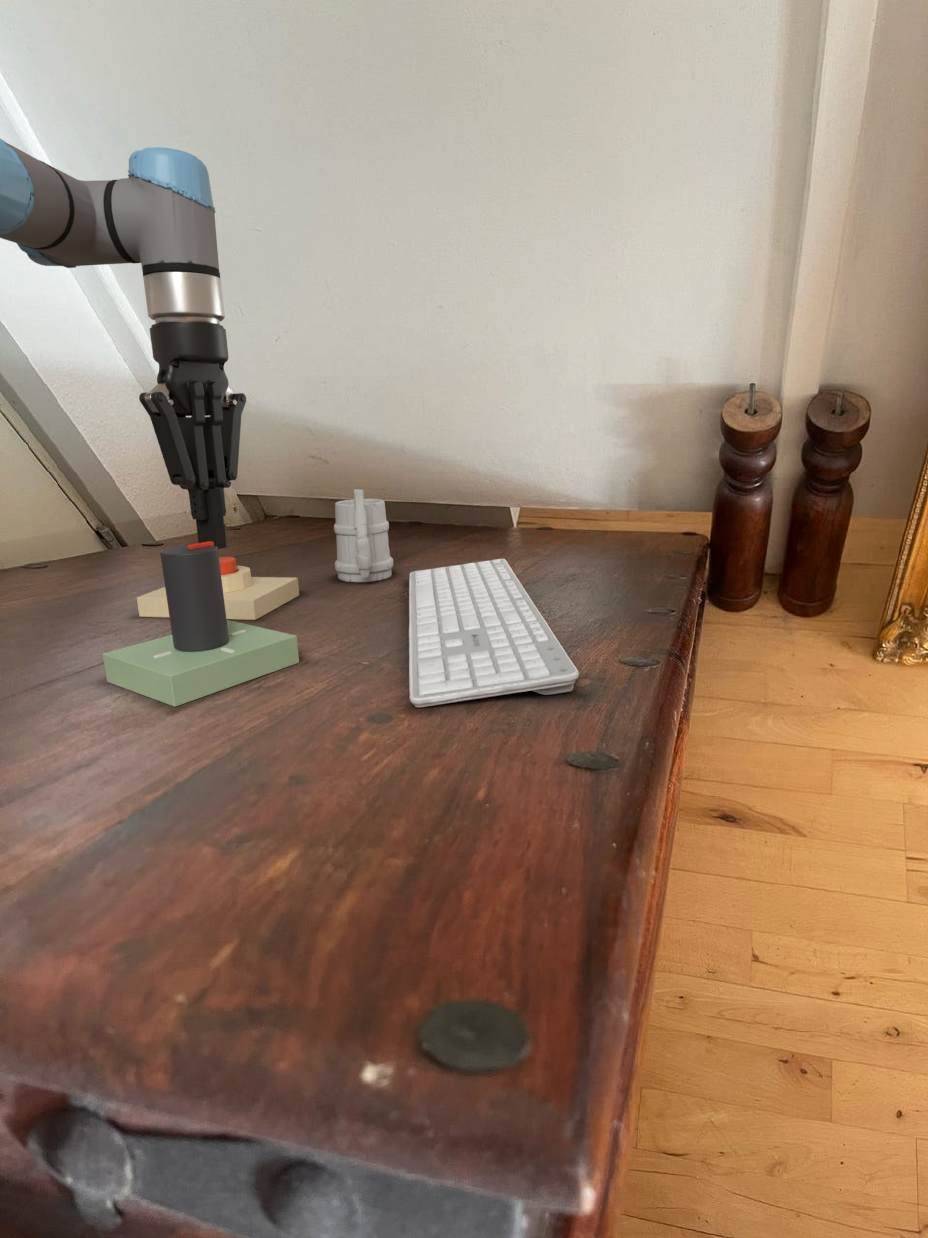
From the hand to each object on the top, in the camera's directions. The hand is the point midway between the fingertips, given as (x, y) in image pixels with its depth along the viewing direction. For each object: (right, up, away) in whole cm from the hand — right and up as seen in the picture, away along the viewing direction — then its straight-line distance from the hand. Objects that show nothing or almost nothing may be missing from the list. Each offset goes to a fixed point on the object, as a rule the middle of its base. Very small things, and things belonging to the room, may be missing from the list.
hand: (212, 547), depth 84 cm
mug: (+15, -3, +13) cm, 20 cm away
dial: (+6, -10, -21) cm, 25 cm away
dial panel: (+6, -13, -21) cm, 25 cm away
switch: (0, -3, +1) cm, 3 cm away
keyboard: (+29, -9, -9) cm, 32 cm away
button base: (+1, -7, +2) cm, 7 cm away
